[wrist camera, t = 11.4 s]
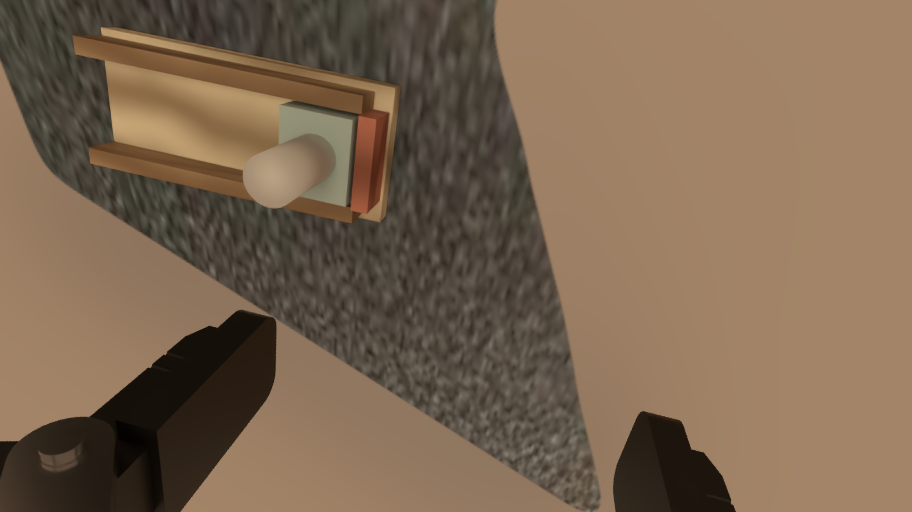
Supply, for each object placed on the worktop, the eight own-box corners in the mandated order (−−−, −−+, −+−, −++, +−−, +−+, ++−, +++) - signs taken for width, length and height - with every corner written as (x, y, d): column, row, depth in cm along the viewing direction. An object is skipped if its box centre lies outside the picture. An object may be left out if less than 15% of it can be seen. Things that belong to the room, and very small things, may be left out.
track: (116, 27, 38) (65, 27, 34) (401, 85, 36) (382, 93, 32) (130, 157, 42) (86, 171, 38) (385, 215, 41) (367, 236, 36)
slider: (299, 98, 36) (226, 119, 28) (367, 113, 36) (313, 138, 28) (296, 179, 39) (229, 220, 31) (360, 194, 38) (308, 238, 30)
